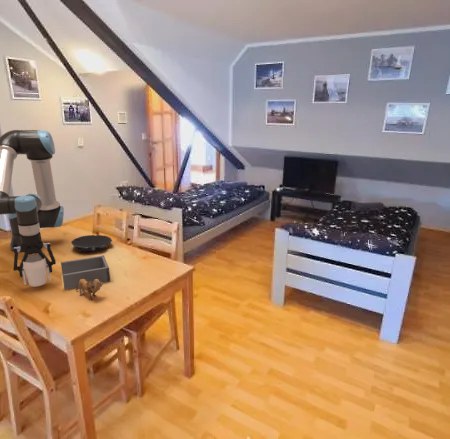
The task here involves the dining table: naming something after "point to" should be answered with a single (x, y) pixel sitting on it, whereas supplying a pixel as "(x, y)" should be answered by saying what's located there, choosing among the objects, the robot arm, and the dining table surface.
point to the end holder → (84, 271)
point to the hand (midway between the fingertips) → (37, 281)
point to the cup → (35, 270)
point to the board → (91, 243)
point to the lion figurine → (89, 286)
